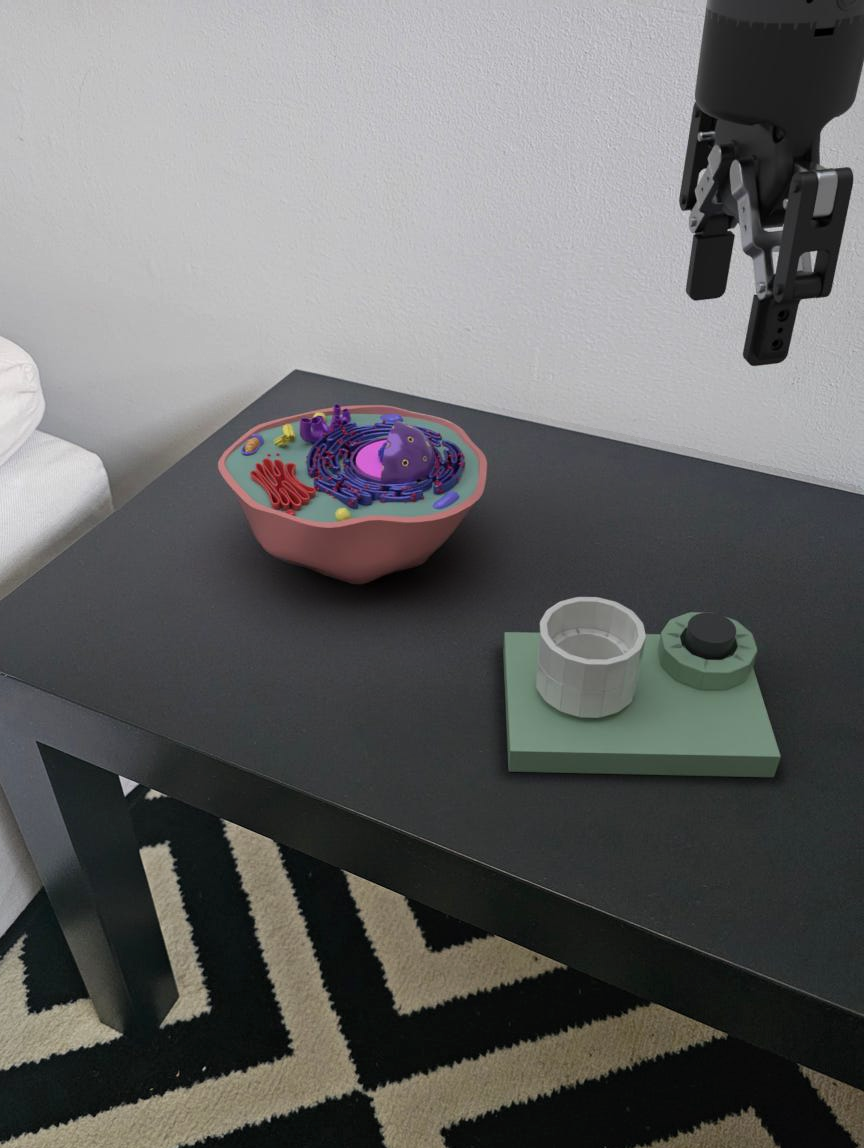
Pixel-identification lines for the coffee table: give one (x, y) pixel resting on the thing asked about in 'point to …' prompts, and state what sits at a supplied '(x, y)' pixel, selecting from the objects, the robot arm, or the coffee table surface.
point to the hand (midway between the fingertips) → (732, 328)
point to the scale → (648, 715)
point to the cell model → (355, 487)
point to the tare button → (710, 636)
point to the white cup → (589, 656)
